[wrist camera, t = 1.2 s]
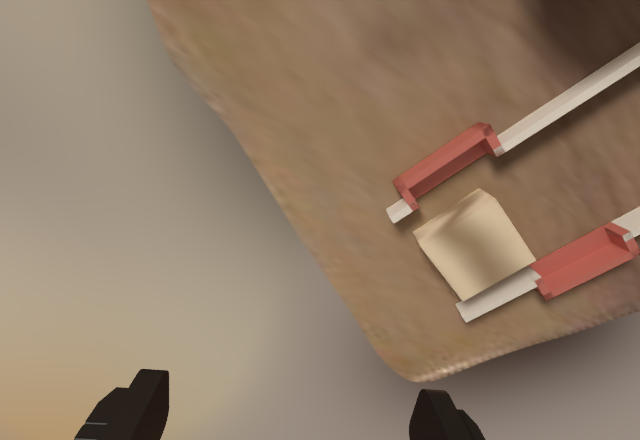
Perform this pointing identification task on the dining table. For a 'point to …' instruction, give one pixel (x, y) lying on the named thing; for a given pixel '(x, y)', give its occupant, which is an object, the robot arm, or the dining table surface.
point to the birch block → (473, 244)
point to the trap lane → (563, 264)
